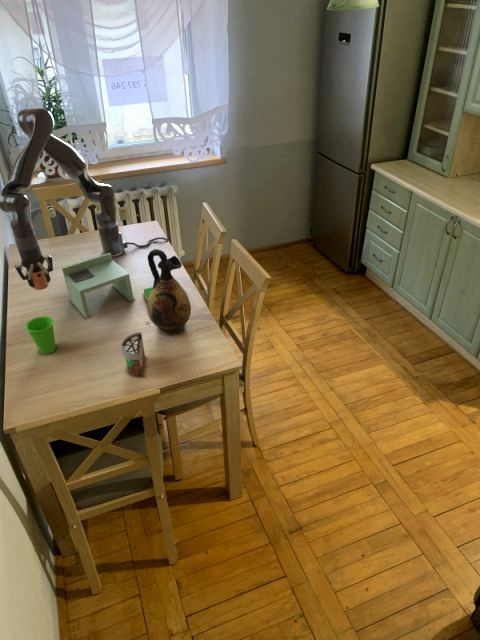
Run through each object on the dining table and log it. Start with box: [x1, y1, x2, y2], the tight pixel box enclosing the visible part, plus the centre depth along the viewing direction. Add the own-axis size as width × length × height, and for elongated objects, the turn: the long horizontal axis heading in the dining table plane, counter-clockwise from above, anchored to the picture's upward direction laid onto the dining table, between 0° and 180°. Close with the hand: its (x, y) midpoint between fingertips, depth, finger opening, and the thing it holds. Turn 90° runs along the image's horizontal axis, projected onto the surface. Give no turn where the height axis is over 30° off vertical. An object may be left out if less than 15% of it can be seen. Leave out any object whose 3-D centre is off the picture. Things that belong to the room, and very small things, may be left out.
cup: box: [24, 315, 56, 355], centre depth 158 cm, size 9×9×11 cm
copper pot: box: [31, 268, 49, 291], centre depth 182 cm, size 5×8×8 cm
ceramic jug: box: [146, 248, 192, 336], centre depth 162 cm, size 17×15×30 cm
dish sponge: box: [143, 286, 153, 302], centre depth 185 cm, size 7×14×2 cm, turn 22°
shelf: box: [61, 253, 135, 319], centre depth 182 cm, size 20×16×15 cm
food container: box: [120, 331, 146, 377], centre depth 149 cm, size 12×6×10 cm, turn 5°
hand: (40, 284), depth 183 cm, fingers closed on copper pot, 5 cm apart
